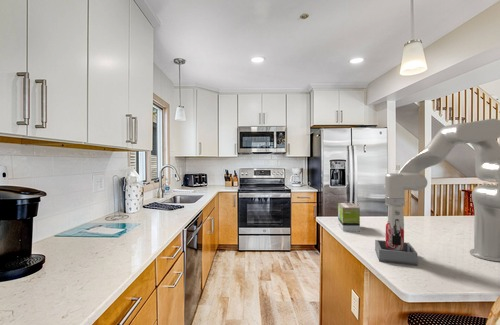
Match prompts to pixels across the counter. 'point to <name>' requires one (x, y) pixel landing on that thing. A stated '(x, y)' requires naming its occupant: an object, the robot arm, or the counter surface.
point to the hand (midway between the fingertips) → (394, 241)
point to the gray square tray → (396, 254)
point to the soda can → (389, 238)
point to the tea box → (349, 217)
